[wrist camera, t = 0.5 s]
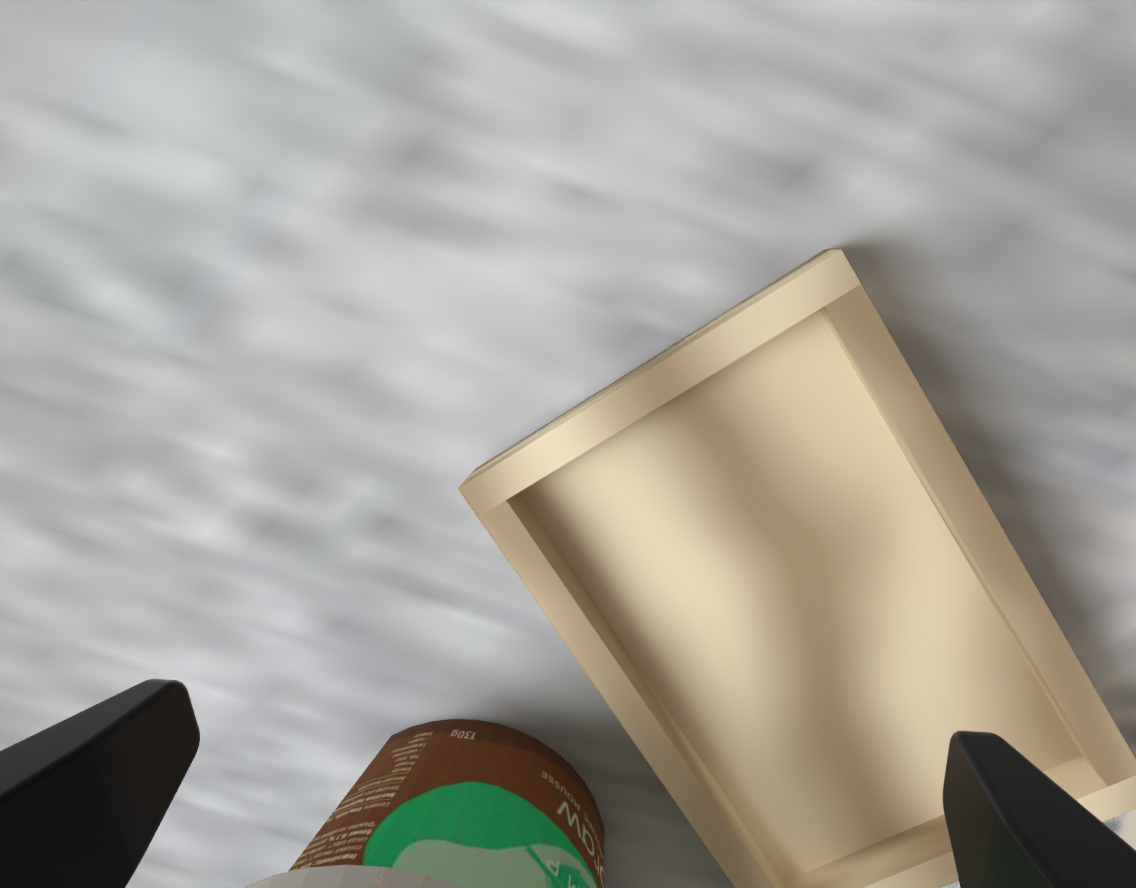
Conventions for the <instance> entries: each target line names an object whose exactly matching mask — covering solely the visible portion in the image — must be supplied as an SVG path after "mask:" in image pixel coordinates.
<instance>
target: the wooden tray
mask: <svg viewBox="0 0 1136 888" xmlns="http://www.w3.org/2000/svg"><path fill="white" fill-rule="evenodd" d="M458 490H459V491H460V492H461V494H462V495H463V497H464V498H465V500H466V501H467V503H468V504H469V505H470V507H471V508H472V510H473V511H474V513H475V514H476V516H477V517H478V518H479V520H480V521H481V523H482V524H483V526H484V527H485V529H486V530H487V531H488V533H489V534H490V536H491V537H492V539H493V540H494V542H495V543H496V544H497V546H498V547H499V549H500V550H501V552H502V553H503V555H504V556H505V557H506V559H507V560H508V562H509V563H510V565H511V566H512V567H513V569H514V570H515V572H516V573H517V575H518V576H519V578H520V579H521V580H522V582H523V583H524V585H525V586H526V588H527V589H528V591H529V592H530V593H531V595H532V596H533V598H534V599H535V601H536V602H537V604H538V605H539V606H540V608H541V609H542V611H543V612H544V614H545V615H546V617H547V618H548V619H549V621H550V622H551V624H552V625H553V627H554V628H555V629H556V631H557V632H558V634H559V635H560V637H561V638H562V640H563V641H564V642H565V644H566V645H567V647H568V648H569V650H570V651H571V653H572V654H573V655H574V657H575V658H576V660H577V661H578V663H579V664H580V666H581V667H582V668H583V670H584V671H585V673H586V674H587V676H588V677H589V679H590V680H591V681H592V683H593V684H594V686H595V687H596V689H597V690H598V692H599V693H600V694H601V696H602V697H603V699H604V700H605V702H606V703H607V704H608V706H609V707H610V709H611V710H612V712H613V713H614V715H615V716H616V717H617V719H618V720H619V722H620V723H621V725H622V726H623V728H624V729H625V730H626V732H627V733H628V735H629V736H630V738H631V739H632V741H633V742H634V743H635V745H636V746H637V748H638V749H639V751H640V752H641V754H642V755H643V756H644V758H645V759H646V761H647V762H648V764H649V765H650V766H651V768H652V769H653V771H654V772H655V774H656V775H657V777H658V778H659V779H660V781H661V782H662V784H663V785H664V787H665V788H666V790H667V791H668V792H669V794H670V795H671V797H672V798H673V800H674V801H675V803H676V804H677V805H678V807H679V808H680V810H681V811H682V813H683V814H684V816H685V817H686V818H687V820H688V821H689V823H690V824H691V826H692V827H693V829H694V830H695V831H696V833H697V834H698V836H699V837H700V839H701V840H702V841H703V843H704V844H705V846H706V847H707V849H708V850H709V852H710V853H711V854H712V856H713V857H714V859H715V860H716V862H717V863H718V865H719V866H720V867H721V869H722V870H723V872H724V873H725V875H726V876H727V878H728V879H729V880H730V882H731V883H732V885H733V886H734V888H940V887H942V886H945V885H947V884H950V883H952V882H955V881H957V880H959V878H958V873H957V869H956V865H955V860H954V856H953V851H952V847H951V842H950V838H949V833H948V829H947V824H946V820H945V815H944V809H943V784H944V777H945V770H946V763H947V756H948V749H949V743H950V739H951V737H952V735H953V733H955V732H957V731H960V730H962V731H978V732H991V733H995V734H997V735H999V736H1000V737H1002V738H1003V739H1004V740H1005V741H1007V742H1008V743H1009V744H1010V745H1011V746H1013V747H1014V748H1015V749H1016V750H1017V751H1018V752H1020V753H1021V754H1022V755H1023V756H1024V757H1026V758H1027V759H1028V760H1029V761H1030V762H1031V763H1033V764H1034V765H1035V766H1036V767H1037V768H1039V769H1040V770H1041V771H1042V772H1043V773H1045V774H1046V775H1047V776H1048V777H1049V778H1050V779H1052V780H1053V781H1054V782H1055V783H1056V784H1058V785H1059V786H1060V787H1061V788H1062V789H1063V790H1065V791H1066V792H1067V793H1068V794H1069V795H1071V796H1072V797H1073V798H1074V799H1075V800H1077V801H1078V802H1079V803H1080V804H1081V805H1082V806H1084V807H1085V808H1086V809H1087V810H1088V811H1090V812H1091V813H1092V814H1093V815H1094V816H1095V817H1097V818H1098V819H1099V820H1100V821H1101V822H1104V821H1106V820H1109V819H1111V818H1114V817H1116V816H1119V815H1121V814H1124V813H1126V812H1129V811H1131V810H1134V809H1136V759H1135V757H1134V755H1133V754H1132V752H1131V750H1130V748H1129V747H1128V745H1127V743H1126V741H1125V740H1124V738H1123V736H1122V734H1121V733H1120V731H1119V729H1118V728H1117V726H1116V724H1115V722H1114V721H1113V719H1112V717H1111V715H1110V714H1109V712H1108V710H1107V709H1106V707H1105V705H1104V703H1103V702H1102V700H1101V698H1100V696H1099V695H1098V693H1097V691H1096V689H1095V688H1094V686H1093V684H1092V683H1091V681H1090V679H1089V677H1088V676H1087V674H1086V672H1085V670H1084V669H1083V667H1082V665H1081V664H1080V662H1079V660H1078V658H1077V657H1076V655H1075V653H1074V651H1073V650H1072V648H1071V646H1070V644H1069V643H1068V641H1067V639H1066V638H1065V636H1064V634H1063V632H1062V631H1061V629H1060V627H1059V625H1058V624H1057V622H1056V620H1055V619H1054V617H1053V615H1052V613H1051V612H1050V610H1049V608H1048V606H1047V605H1046V603H1045V601H1044V599H1043V598H1042V596H1041V594H1040V593H1039V591H1038V589H1037V587H1036V586H1035V584H1034V582H1033V580H1032V579H1031V577H1030V575H1029V573H1028V572H1027V570H1026V568H1025V567H1024V565H1023V563H1022V561H1021V560H1020V558H1019V556H1018V554H1017V553H1016V551H1015V549H1014V548H1013V546H1012V544H1011V542H1010V541H1009V539H1008V537H1007V535H1006V534H1005V532H1004V530H1003V528H1002V527H1001V525H1000V523H999V522H998V520H997V518H996V516H995V515H994V513H993V511H992V509H991V508H990V506H989V504H988V503H987V501H986V499H985V497H984V496H983V494H982V492H981V490H980V489H979V487H978V485H977V483H976V482H975V480H974V478H973V477H972V475H971V473H970V471H969V470H968V468H967V466H966V464H965V463H964V461H963V459H962V458H961V456H960V454H959V452H958V451H957V449H956V447H955V445H954V444H953V442H952V440H951V438H950V437H949V435H948V433H947V432H946V430H945V428H944V426H943V425H942V423H941V421H940V419H939V418H938V416H937V414H936V412H935V411H934V409H933V407H932V406H931V404H930V402H929V400H928V399H927V397H926V395H925V393H924V392H923V390H922V388H921V387H920V385H919V383H918V381H917V380H916V378H915V376H914V374H913V373H912V371H911V369H910V367H909V366H908V364H907V362H906V361H905V359H904V357H903V355H902V354H901V352H900V350H899V348H898V347H897V345H896V343H895V342H894V340H893V338H892V336H891V335H890V333H889V331H888V329H887V328H886V326H885V324H884V322H883V321H882V319H881V317H880V316H879V314H878V312H877V310H876V309H875V307H874V305H873V303H872V302H871V300H870V298H869V297H868V295H867V293H866V291H865V290H864V288H863V286H862V284H861V283H860V281H859V279H858V277H857V276H856V274H855V272H854V271H853V269H852V267H851V265H850V264H849V262H848V260H847V258H846V257H845V255H844V253H843V252H842V250H824V251H822V252H821V253H819V254H817V255H816V256H814V257H813V258H811V259H809V260H808V261H806V262H805V263H803V264H801V265H800V266H798V267H797V268H795V269H794V270H792V271H790V272H789V273H787V274H786V275H784V276H782V277H781V278H779V279H778V280H776V281H774V282H773V283H771V284H770V285H768V286H766V287H765V288H763V289H762V290H760V291H758V292H757V293H755V294H754V295H752V296H750V297H749V298H747V299H746V300H744V301H743V302H741V303H739V304H738V305H736V306H735V307H733V308H731V309H730V310H728V311H727V312H725V313H723V314H722V315H720V316H719V317H717V318H715V319H714V320H712V321H711V322H709V323H707V324H706V325H704V326H703V327H701V328H699V329H698V330H696V331H695V332H693V333H692V334H690V335H688V336H687V337H685V338H684V339H682V340H680V341H679V342H677V343H676V344H674V345H672V346H671V347H669V348H668V349H666V350H664V351H663V352H661V353H660V354H658V355H656V356H655V357H653V358H652V359H650V360H648V361H647V362H645V363H644V364H642V365H641V366H639V367H637V368H636V369H634V370H633V371H631V372H629V373H628V374H626V375H625V376H623V377H621V378H620V379H618V380H617V381H615V382H613V383H612V384H610V385H609V386H607V387H605V388H604V389H602V390H601V391H599V392H597V393H596V394H594V395H593V396H591V397H590V398H588V399H586V400H585V401H583V402H582V403H580V404H578V405H577V406H575V407H574V408H572V409H570V410H569V411H567V412H566V413H564V414H562V415H561V416H559V417H558V418H556V419H554V420H553V421H551V422H550V423H548V424H546V425H545V426H543V427H542V428H540V429H539V430H537V431H535V432H534V433H532V434H531V435H529V436H527V437H526V438H524V439H523V440H521V441H519V442H518V443H516V444H515V445H513V446H511V447H510V448H508V449H507V450H505V451H503V452H502V453H500V454H499V455H497V456H495V457H494V458H492V459H491V460H489V461H488V462H486V463H484V464H483V465H481V466H480V467H478V468H476V469H475V470H474V471H473V472H472V473H471V474H470V475H469V477H468V478H467V479H466V480H465V481H464V482H463V484H462V485H461V486H460V487H459V488H458Z"/></svg>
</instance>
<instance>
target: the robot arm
mask: <svg viewBox="0 0 1136 888" xmlns="http://www.w3.org/2000/svg"><path fill="white" fill-rule="evenodd" d="M199 742H200V731H199V727H198V724H197V721H196V717H195V714H194V710H193V707H192V704H191V700H190V697H189V693H188V690H187V688H186V687H185V685H184V684H183V683H182V682H179V681H177V680H164V679H150V680H146V681H144V682H142V683H140V684H138V685H136V686H133V687H131V688H129V689H127V690H125V691H123V692H121V693H119V694H117V695H115V696H113V697H111V698H109V699H107V700H105V701H103V702H101V703H98V704H96V705H94V706H92V707H90V708H88V709H86V710H84V711H82V712H80V713H78V714H76V715H74V716H72V717H70V718H68V719H66V720H63V721H61V722H59V723H57V724H55V725H53V726H51V727H49V728H47V729H45V730H43V731H41V732H39V733H37V734H35V735H33V736H31V737H28V738H26V739H24V740H22V741H20V742H18V743H16V744H14V745H12V746H10V747H8V748H6V749H4V750H2V751H0V888H125V887H126V885H127V884H128V882H129V880H130V879H131V877H132V875H133V874H134V872H135V870H136V869H137V867H138V865H139V863H140V861H141V859H142V857H143V856H144V854H145V852H146V850H147V848H148V846H149V844H150V842H151V840H152V839H153V837H154V835H155V833H156V831H157V829H158V827H159V825H160V823H161V821H162V819H163V817H164V815H165V813H166V811H167V809H168V807H169V806H170V804H171V802H172V800H173V798H174V796H175V794H176V792H177V790H178V788H179V786H180V784H181V782H182V780H183V778H184V776H185V774H186V773H187V771H188V769H189V767H190V765H191V763H192V761H193V759H194V757H195V755H196V753H197V750H198V747H199ZM943 809H944V815H945V820H946V824H947V829H948V833H949V838H950V842H951V847H952V851H953V856H954V860H955V865H956V869H957V873H958V878H959V882H960V887H961V888H1136V850H1135V849H1133V848H1132V847H1131V846H1130V845H1129V844H1127V843H1126V842H1125V841H1124V840H1123V839H1122V838H1120V837H1119V836H1118V835H1117V834H1116V833H1114V832H1113V831H1112V830H1111V829H1110V828H1108V827H1107V826H1106V825H1105V824H1104V823H1103V822H1101V821H1100V820H1099V819H1098V818H1097V817H1095V816H1094V815H1093V814H1092V813H1091V812H1090V811H1088V810H1087V809H1086V808H1085V807H1084V806H1082V805H1081V804H1080V803H1079V802H1078V801H1077V800H1075V799H1074V798H1073V797H1072V796H1071V795H1069V794H1068V793H1067V792H1066V791H1065V790H1063V789H1062V788H1061V787H1060V786H1059V785H1058V784H1056V783H1055V782H1054V781H1053V780H1052V779H1050V778H1049V777H1048V776H1047V775H1046V774H1045V773H1043V772H1042V771H1041V770H1040V769H1039V768H1037V767H1036V766H1035V765H1034V764H1033V763H1031V762H1030V761H1029V760H1028V759H1027V758H1026V757H1024V756H1023V755H1022V754H1021V753H1020V752H1018V751H1017V750H1016V749H1015V748H1014V747H1013V746H1011V745H1010V744H1009V743H1008V742H1007V741H1005V740H1004V739H1003V738H1002V737H1000V736H999V735H997V734H995V733H991V732H978V731H962V730H960V731H957V732H955V733H953V735H952V737H951V739H950V743H949V749H948V756H947V763H946V770H945V777H944V784H943Z"/></svg>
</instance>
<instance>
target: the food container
mask: <svg viewBox="0 0 1136 888" xmlns="http://www.w3.org/2000/svg"><path fill="white" fill-rule="evenodd" d="M245 888H604V826H603V823H602V820H601V817H600V814H599V811H598V808H597V805H596V802H595V799H594V797H593V796H592V794H591V792H590V790H589V789H588V787H587V785H586V784H585V782H584V781H583V779H582V778H581V777H580V776H579V775H578V773H577V772H576V771H575V770H574V769H573V767H572V766H571V765H570V764H569V763H568V762H566V761H565V760H564V759H563V758H562V757H561V756H560V755H559V754H557V753H556V752H555V751H554V750H552V749H551V748H549V747H548V746H546V745H545V744H543V743H541V742H540V741H538V740H537V739H535V738H533V737H530V736H528V735H526V734H524V733H522V732H520V731H518V730H515V729H512V728H508V727H505V726H502V725H499V724H495V723H489V722H483V721H477V720H458V719H451V720H442V721H434V722H429V723H425V724H421V725H417V726H413V727H410V728H408V729H406V730H404V731H401V732H399V733H397V734H395V735H392V736H391V737H390V738H389V740H388V741H387V742H386V744H385V745H384V746H383V748H382V749H381V750H380V752H379V753H378V754H377V755H376V757H375V758H374V759H373V761H372V762H371V763H370V765H369V766H368V767H367V769H366V770H365V771H364V773H363V774H362V775H361V777H360V778H359V779H358V780H357V782H356V783H355V784H354V786H353V787H352V788H351V790H350V791H349V792H348V794H347V795H346V796H345V798H344V799H343V800H342V802H341V803H340V804H339V805H338V807H337V808H336V809H335V811H334V812H333V813H332V815H331V816H330V817H329V819H328V820H327V821H326V823H325V824H324V825H323V827H322V828H321V829H320V830H319V832H318V833H317V834H316V836H315V837H314V838H313V840H312V841H311V842H310V844H309V845H308V846H307V848H306V849H305V850H304V852H303V853H302V854H301V855H300V857H299V858H298V859H297V861H296V862H295V863H294V865H293V866H292V867H291V869H290V870H289V871H288V872H287V873H282V874H278V875H274V876H271V877H269V878H266V879H264V880H261V881H259V882H256V883H254V884H251V885H249V886H246V887H245Z"/></svg>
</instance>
